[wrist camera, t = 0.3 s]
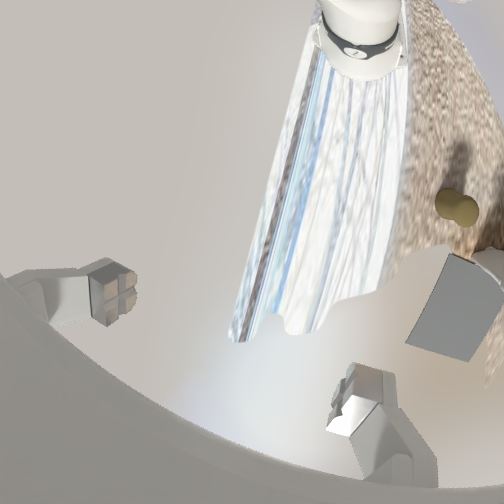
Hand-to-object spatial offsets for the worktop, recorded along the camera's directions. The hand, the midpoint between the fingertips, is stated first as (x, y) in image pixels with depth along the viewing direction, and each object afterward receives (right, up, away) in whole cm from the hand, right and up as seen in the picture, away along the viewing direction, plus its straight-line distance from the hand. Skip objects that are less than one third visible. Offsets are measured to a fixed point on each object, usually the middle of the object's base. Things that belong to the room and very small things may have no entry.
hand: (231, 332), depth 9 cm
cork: (+38, +12, +35) cm, 53 cm away
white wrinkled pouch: (+50, +2, +34) cm, 60 cm away
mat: (+46, -11, +39) cm, 61 cm away
